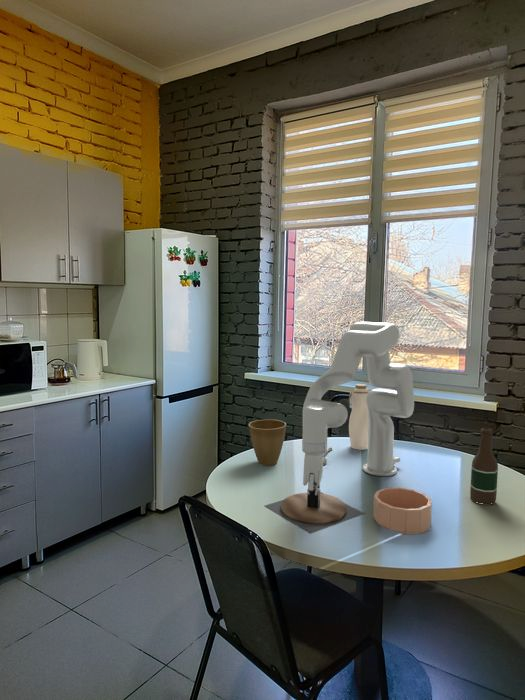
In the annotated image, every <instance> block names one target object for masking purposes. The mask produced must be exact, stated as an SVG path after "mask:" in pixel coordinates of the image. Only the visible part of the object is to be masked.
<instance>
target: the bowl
mask: <svg viewBox="0 0 525 700" xmlns="http://www.w3.org/2000/svg"><path fill="white" fill-rule="evenodd" d="M432 506H433V500H432V498H431V497H430V496H428V495H427V494H425V493H423V492H421V491H418V490H416V489H412V488H406V487H385V488H382V489H381V488H380V489H378V490H377V491H376V492H375V494H374V495H373V514H372V515H373V519H374V520H375V521H376V523H377V524H378V525H380V526H382V527H384V528H386V529H388V530H391V531H395V532H399V534H403V535H420V534H423V533H425V532H427V531H430V529H431V526H430V525H432V511H433V510H432V509H433V508H432Z"/></svg>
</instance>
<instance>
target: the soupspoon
mask: <svg viewBox="0 0 525 700" xmlns="http://www.w3.org/2000/svg"><path fill="white" fill-rule="evenodd" d="M331 451H333V448H332V447H328V448H327V452H326V453H325V454H323V467H324V466H325V465H326V464H327V462H328V460H327V458H326V457H324V456H325V455H326V454H327V453H328V452H331Z"/></svg>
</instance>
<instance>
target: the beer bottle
mask: <svg viewBox="0 0 525 700" xmlns="http://www.w3.org/2000/svg"><path fill="white" fill-rule="evenodd" d="M479 432H480V438H479V439H480V440H479V447H478V450H477V451H478V452H477V453H476V455H475V456H474V457H473V459H472V460H471V461H472V462H471V463H472V464H471V474H470V491H469V492H470V493H469V494H470V495H469V496H470V497H469V498H470V500H471V499H472V500H471V501H472V502H474V503H475V502H478V503H483V504H491V503H494V502H495V501H497V493H498V492H497V491H498V489H497V488H498V474H499V473H498V472H499V471H498V470H499V464H498V463H499V462H497V461H498V460H497V458H496V456H495V455H494V453H493V452H494V451H493V433H494V431H493V429H491V428H489V427H482V428H480V431H479ZM478 503H477V504H478ZM495 503H496V502H495ZM495 503H494V504H495Z"/></svg>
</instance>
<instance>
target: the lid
mask: <svg viewBox="0 0 525 700" xmlns="http://www.w3.org/2000/svg"><path fill="white" fill-rule="evenodd" d="M314 489H315V488H314ZM306 490H307V491H306V492H302V493H300V492H299V493H296V494H295V493H294V494H292V495H289V496H286V497H285V498H284V499H282V500H283V501H282V503H281V510H282V513H283V514H284V515H285V516H286V517H288V518H290V519H292V520H294V521H297V522H301V523H306V524H329V523H333V522H337V521H339V520H341V519H342V518H344V517H345V515H346V509H347V508H346V505H345V504H346V503H345V502H344V501H343V500H341V499H340V498H338V497H336V496H333V495H330V494H325V493H324V494H321V493H320V492H321V488H317V495H318V508H310V507H307V494H308V488H307V489H306Z"/></svg>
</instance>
